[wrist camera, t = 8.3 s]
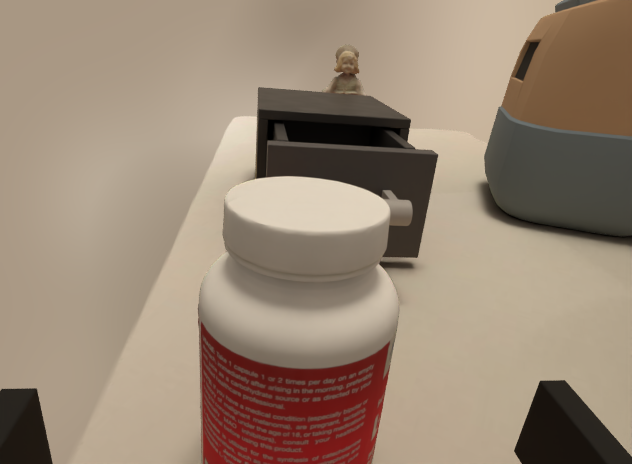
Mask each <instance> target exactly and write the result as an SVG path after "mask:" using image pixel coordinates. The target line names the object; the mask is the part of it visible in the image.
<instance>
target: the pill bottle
mask: <svg viewBox="0 0 632 464" xmlns="http://www.w3.org/2000/svg"><path fill="white" fill-rule="evenodd" d="M389 222H390V208H389V205H388V204H387V203H386V201H385V200H383V199H382V198H381V197H379V196H377V195H376V194H374V193H372V192H370V191H368V190H365V189H362V188H360V187H356V186H353V185H350V184H346V183H342V182H338V181H332V180H325V179H319V178H309V177H294V176H283V177H268V178H259V179H254V180H250V181H246V182H243V183H241V184H238V185H236V186H234V187H233V188H231V189H230V190H229V191H228V193H227V194H226V196H225V200H224V223H223V238H224V241H225V242H224V243H225V248H226V250H227V252H226V253H224V254H223V255H222V256H220V257H219V258H218V259H217V260H216V261H215V262H214V263H213V264H212V266H211V267H210V268H209V270H208V271H207V273H206V275H205V276H204V279H203V281H202V284H201V288H200V294H199V304H198V315H199V319H198V325H199V346H200V389H201V405H200V408H201V453H202V464H372V459H373V454H374V449H375V443H376V438H377V434H378V428H379V423H380V418H381V412H382V408H383V401H384V396H385V390H386V385H387V380H388V374H389V368H390V363H391V358H392V352H393V347H394V342H395V337H396V331H397V325H398V317H399V299H398V294H397V291H396V288H395V286H394V284H393V282H392V280H391V278H390V277H389V275H388V274H387V273H386V271H385V270H384V269H383V268H382V267H381V266H380V265H379V263H380V261H381V259H382V256H383V254H384V253H385V251H386V249H387V241H388V232H389Z"/></svg>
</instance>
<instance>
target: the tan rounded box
mask: <svg viewBox="0 0 632 464" xmlns="http://www.w3.org/2000/svg"><path fill="white" fill-rule="evenodd" d="M555 12H556V13H553V14H550V15H547V16H545V17H543V18H541V19H540V20H539V22H538V23H537V25H536V26H535V28H534V29H533V31H532V32H531V34H530V35H529V37H528V39H527V40H526V42H525V44H524V46H523V48H522V50H521V51H520V54H519V57H518V59H517V62H516V65H515V67H514V70H513V72H512V75H511V77H510V81H509V84H508V87H507V90H506V93H505V96H504V100H503V103H502V106H501V107H499V109H498V112H497V115H496V119H495V122H494V125H493V129H492V132H491V135H490V139H489V142H488V146H487V149H486V152H485V156H484V159H485V173H486V177H487V180H488V183H489V187H490V190H491V193H492V195H493V198H494V200H495V202H496V204H497V205H498V206H499V207H500V208H501V209H502V210H503V211H504V212H506V213H507V214H509V215H511V216H513V217H516V218H518V219H521V220H525V221H529V222H533V223H538V224H544V225H550V226H556V227H562V228H568V229H574V230H580V231H586V232H592V233H598V234H604V235H610V236H622V237H623V236H632V0H564V1H561V2H560V3H558V4H557V5H556V6H555Z"/></svg>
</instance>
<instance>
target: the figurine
mask: <svg viewBox="0 0 632 464" xmlns="http://www.w3.org/2000/svg"><path fill="white" fill-rule="evenodd" d="M358 57H359V52H358V51H357V49H356V48H355V47H353V46H351V45H343V46H342V47H340V48H339V49H338V50H337V52H336V58H337V60H336V63H337V66H336V67H335V69H334V70H335V71H336V72H343V73H342V74H340V75H339V76H338V77H335V78H334V79H333V80H332V81H331V83H330V84H329V86H328V87H327V88H325V89H323V90H322V92H325V93H338V94H351V95H364V96H367V95H366V93H365V92H364V89H363V86H362V84H361V81H360V80H359V79H357V78H356V76H355V74H357V73H359V69H358V62H357V61H358Z"/></svg>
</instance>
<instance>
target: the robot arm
mask: <svg viewBox="0 0 632 464" xmlns="http://www.w3.org/2000/svg"><path fill="white" fill-rule="evenodd" d="M514 452H515V453H516V455H517V457H518V458H519V460H520V462H521V463H522V464H632V457H631V456H630V454H629V453H628V452H627V451H626V450H625V449H624V448H623V446H622V445H621V444H620V443H619V442H618V441H617V440H616V438H615V437H614V436H613V435H612V434H611V433H610V431H609V430H608V429H607V428H606V427H605V426H604V425H603V423H602V422H601V421H600V420H599V419H598V418H597V417H596V415H595V414H594V413H593V412H592V411H591V410H590V409H589V407H588V406H587V405H586V404H585V403H584V402H583V401H582V399H581V398H580V397H579V396H578V395H577V394H576V393H575V391H574V390H573V389H572V388H571V387H570V386H569V385H568V383H567V382H566V381H565V380H561V381H540V383H539V385H538V388H537V391H536V393H535V396H534V399H533V401H532V404H531V407H530V409H529V412H528V415H527V418H526V420H525V423H524V426H523V428H522V431H521V434H520V436H519V439H518V442H517V444H516V447H515V450H514ZM0 464H52V459H51V454H50V449H49V444H48V440H47V435H46V430H45V425H44V421H43V416H42V411H41V406H40V402H39V397H38V393H37V389H2V390H1V391H0Z"/></svg>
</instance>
